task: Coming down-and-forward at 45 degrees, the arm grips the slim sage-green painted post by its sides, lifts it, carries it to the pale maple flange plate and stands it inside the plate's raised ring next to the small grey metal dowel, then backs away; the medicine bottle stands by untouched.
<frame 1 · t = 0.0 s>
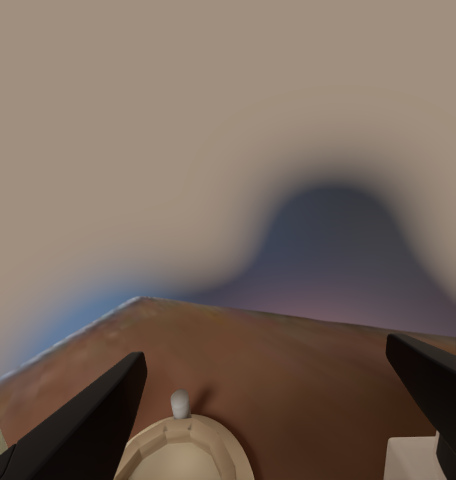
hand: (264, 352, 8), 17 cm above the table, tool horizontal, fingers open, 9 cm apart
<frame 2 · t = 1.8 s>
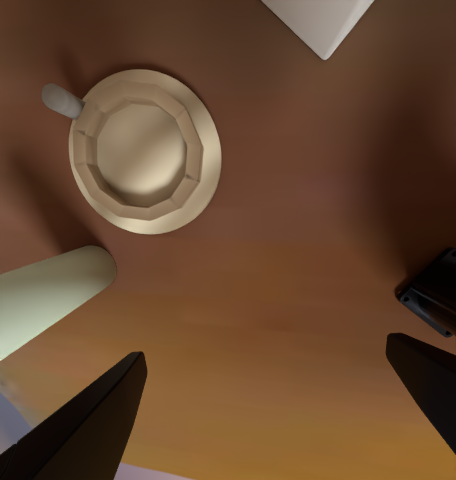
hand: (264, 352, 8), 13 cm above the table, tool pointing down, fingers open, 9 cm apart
post: (94, 267, 21), on the table
flange plate: (148, 160, 19), on the table
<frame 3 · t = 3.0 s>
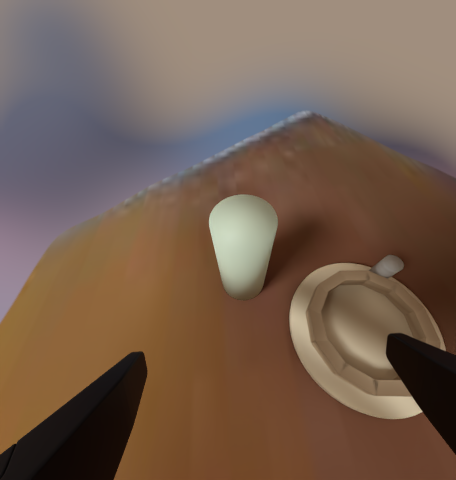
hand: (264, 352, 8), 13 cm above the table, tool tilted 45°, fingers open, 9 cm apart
post: (242, 279, 23), on the table
flange plate: (358, 328, 20), on the table
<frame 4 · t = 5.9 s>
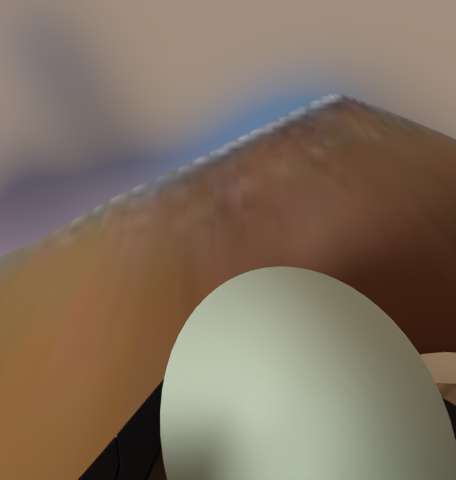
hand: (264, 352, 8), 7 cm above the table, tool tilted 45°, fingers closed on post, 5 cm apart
post: (256, 377, 13), on the table, touching gripper
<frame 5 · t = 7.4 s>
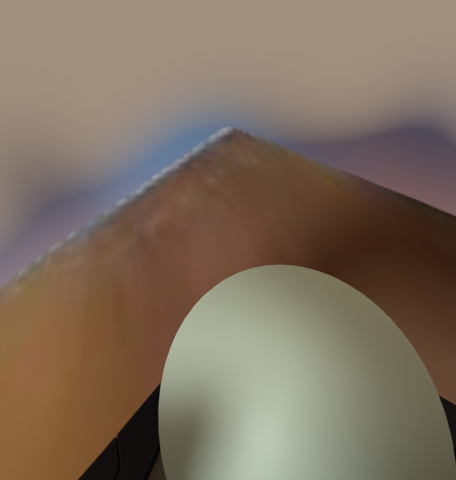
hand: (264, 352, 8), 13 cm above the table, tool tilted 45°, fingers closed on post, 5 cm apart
post: (256, 376, 13), point 7 cm above the table, touching gripper
when the fingers open (8 cm above the table, at t = 8.9 s): post stays where it is, resting on flange plate.
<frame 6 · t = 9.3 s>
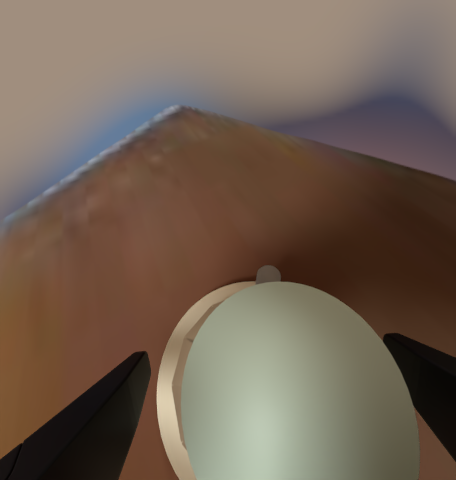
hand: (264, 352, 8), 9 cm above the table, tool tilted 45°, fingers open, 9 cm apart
post: (257, 377, 14), point 1 cm above the table, touching flange plate
flange plate: (255, 376, 15), on the table
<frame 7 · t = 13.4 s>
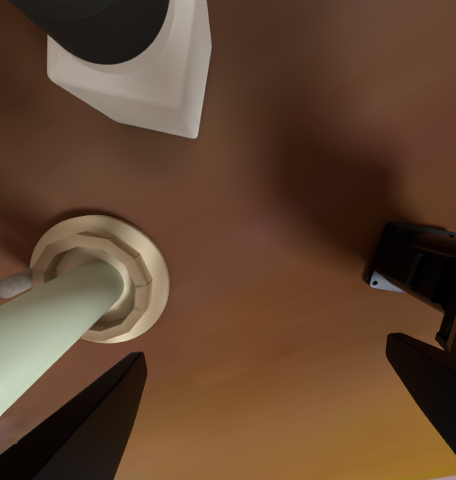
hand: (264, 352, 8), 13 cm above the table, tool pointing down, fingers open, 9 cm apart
post: (99, 283, 20), point 1 cm above the table, touching flange plate
flange plate: (105, 279, 21), on the table
medicine bottle: (162, 86, 17), on the table
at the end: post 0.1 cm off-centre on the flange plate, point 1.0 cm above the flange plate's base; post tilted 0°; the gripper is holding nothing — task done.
